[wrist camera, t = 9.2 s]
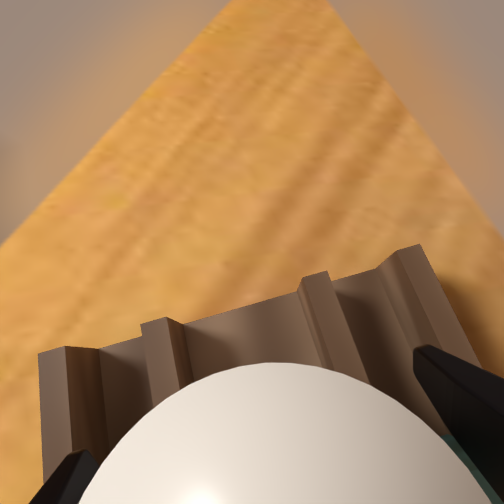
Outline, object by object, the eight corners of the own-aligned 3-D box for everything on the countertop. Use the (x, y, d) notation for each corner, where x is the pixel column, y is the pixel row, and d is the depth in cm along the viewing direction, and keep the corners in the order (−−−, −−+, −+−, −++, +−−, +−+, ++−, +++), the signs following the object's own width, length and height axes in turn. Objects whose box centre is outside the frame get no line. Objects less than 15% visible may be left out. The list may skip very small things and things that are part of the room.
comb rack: (405, 261, 18) (448, 230, 14) (545, 554, 14) (675, 644, 9) (66, 360, 17) (-1, 359, 13) (92, 714, 13) (1, 898, 8)
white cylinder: (341, 411, 15) (648, 610, 3) (276, 503, 14) (343, 1402, 2) (264, 341, 17) (259, 283, 4) (198, 421, 15) (-64, 648, 3)
